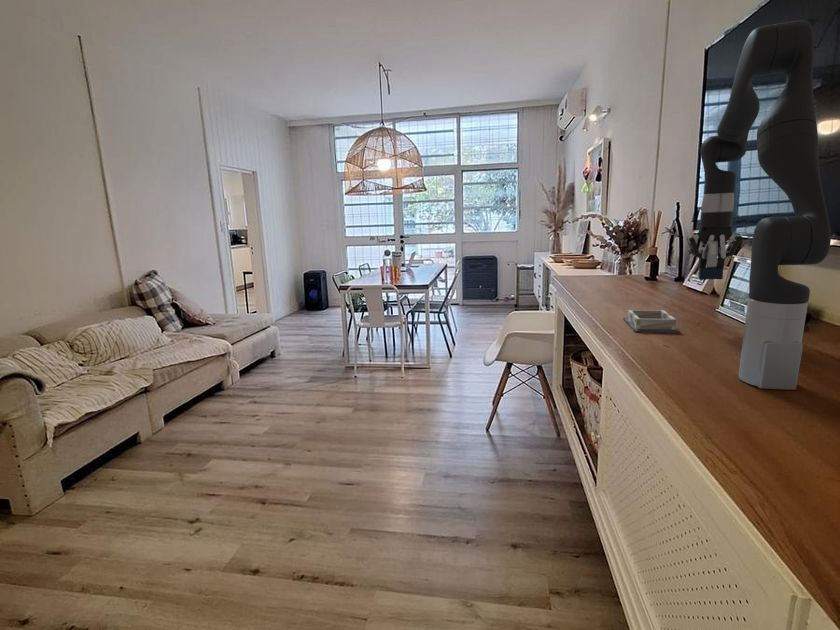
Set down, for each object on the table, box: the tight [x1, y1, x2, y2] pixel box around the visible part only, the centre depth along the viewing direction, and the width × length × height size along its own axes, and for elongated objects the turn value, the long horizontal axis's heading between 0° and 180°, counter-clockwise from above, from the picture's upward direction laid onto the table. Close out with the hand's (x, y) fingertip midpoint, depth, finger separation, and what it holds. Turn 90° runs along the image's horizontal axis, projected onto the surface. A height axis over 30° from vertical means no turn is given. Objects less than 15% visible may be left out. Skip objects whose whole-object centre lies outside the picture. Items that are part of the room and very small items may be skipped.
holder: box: [622, 309, 681, 334], centre depth 134 cm, size 16×12×4 cm
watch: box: [697, 241, 724, 280], centre depth 126 cm, size 6×8×11 cm
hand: (710, 270), depth 127 cm, fingers closed on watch, 3 cm apart
